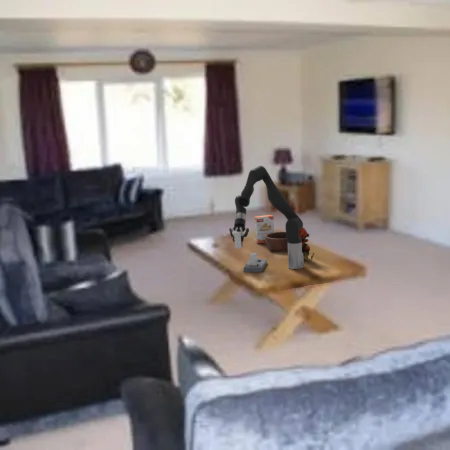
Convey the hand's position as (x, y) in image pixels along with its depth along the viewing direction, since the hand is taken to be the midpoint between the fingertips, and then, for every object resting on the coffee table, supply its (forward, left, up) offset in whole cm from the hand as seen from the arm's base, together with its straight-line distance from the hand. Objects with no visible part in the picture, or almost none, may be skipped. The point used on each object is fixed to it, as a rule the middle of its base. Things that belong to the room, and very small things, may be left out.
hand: (237, 241), depth 451 cm
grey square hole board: (-6, +11, -17) cm, 21 cm away
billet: (-1, -1, -5) cm, 5 cm away
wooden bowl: (-52, -19, -17) cm, 58 cm away
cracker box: (-55, -45, -17) cm, 73 cm away
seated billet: (-2, +15, -17) cm, 23 cm away
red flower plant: (-42, +17, -17) cm, 48 cm away
